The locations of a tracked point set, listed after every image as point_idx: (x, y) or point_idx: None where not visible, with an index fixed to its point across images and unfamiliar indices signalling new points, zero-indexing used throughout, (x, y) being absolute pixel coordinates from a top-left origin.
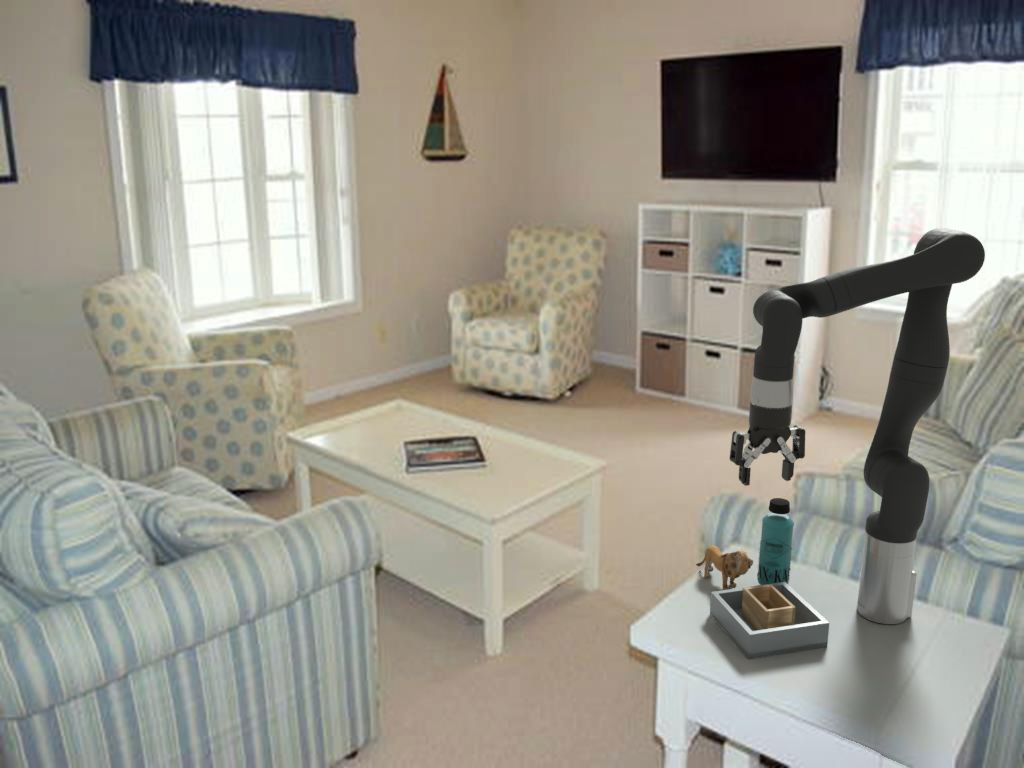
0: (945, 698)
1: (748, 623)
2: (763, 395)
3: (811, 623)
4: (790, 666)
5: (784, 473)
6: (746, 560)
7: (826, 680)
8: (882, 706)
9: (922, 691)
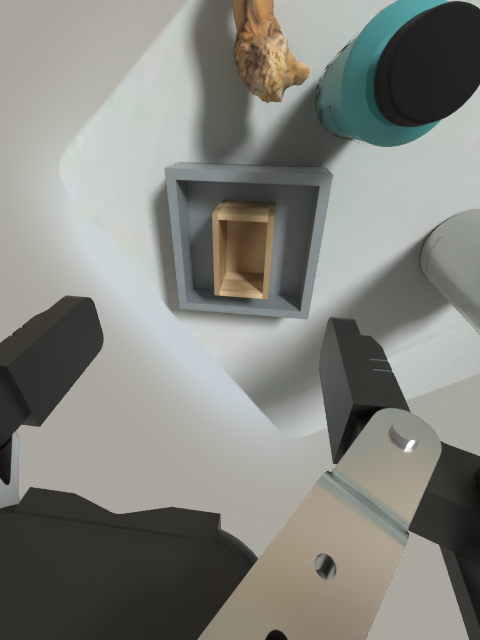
0: None
1: None
2: None
3: (281, 312)
4: (233, 317)
5: (328, 360)
6: (275, 97)
7: (257, 348)
8: (284, 392)
9: None
